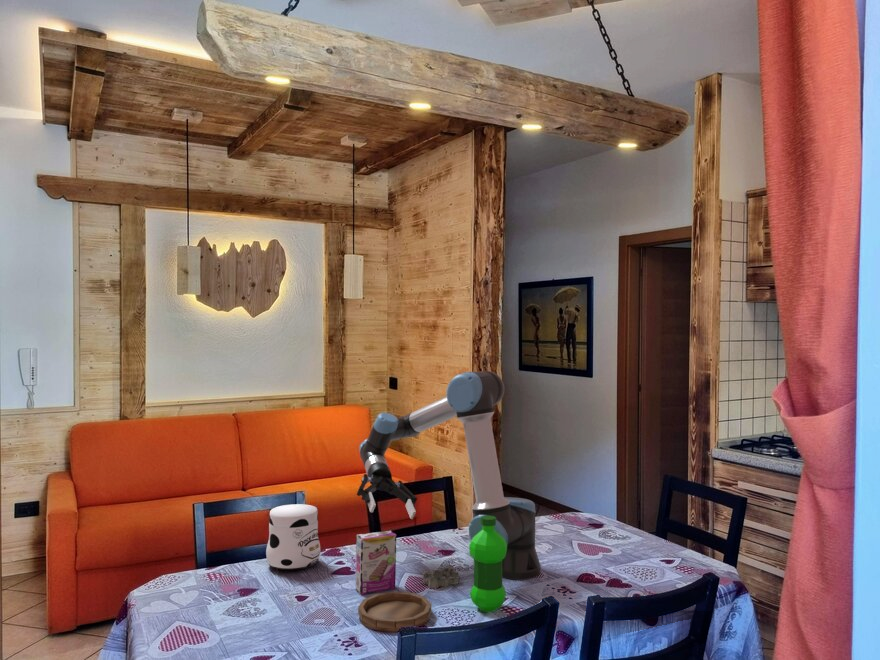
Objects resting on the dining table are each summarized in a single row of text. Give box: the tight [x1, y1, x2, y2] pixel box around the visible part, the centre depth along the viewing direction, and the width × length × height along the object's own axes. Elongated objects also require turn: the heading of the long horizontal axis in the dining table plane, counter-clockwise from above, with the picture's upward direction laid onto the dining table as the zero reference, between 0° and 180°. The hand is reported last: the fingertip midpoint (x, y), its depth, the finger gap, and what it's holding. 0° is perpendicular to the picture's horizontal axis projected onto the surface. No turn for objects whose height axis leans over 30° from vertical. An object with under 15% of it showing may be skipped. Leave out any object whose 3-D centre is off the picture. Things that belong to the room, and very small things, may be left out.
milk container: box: [265, 503, 321, 571], centre depth 218 cm, size 17×17×18 cm
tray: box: [357, 591, 432, 633], centre depth 179 cm, size 19×19×3 cm
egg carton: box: [420, 565, 462, 589], centre depth 203 cm, size 11×8×4 cm
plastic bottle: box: [468, 516, 507, 613], centre depth 185 cm, size 10×10×25 cm
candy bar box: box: [355, 530, 397, 596], centre depth 198 cm, size 11×5×16 cm, turn 117°
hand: (393, 512), depth 203 cm, fingers open, 13 cm apart
